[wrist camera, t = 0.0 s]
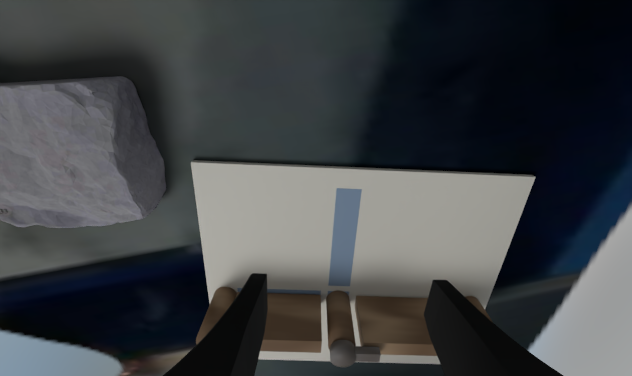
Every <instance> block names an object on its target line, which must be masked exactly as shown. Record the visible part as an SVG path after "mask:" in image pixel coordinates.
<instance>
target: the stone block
mask: <svg viewBox="0 0 632 376" xmlns="http://www.w3.org/2000/svg"><path fill="white" fill-rule="evenodd" d="M165 191H166V182H165V166H164V160H163V158H162V156H161V154H160V152H159V150H158V148H157V146H156V141H155V140H154V139H153V137H152V136H151V134H150V131H149V128H148V125H147V118H146V114H145V111H144V109H143V106H142V104H141V101H140V99H139V97H138V94H137V91H136V88H135V86H134V84H133V82H132V81H131V80H129V79H128V78H126V77H123V76H114V77H96V78H82V79H62V80H45V81H28V82H13V83H0V220H2V221H4V222H7V223H10V224H13V225H15V226H17V227H27V226H31V225H42V226H45V227H51V228H74V227H85V226H87V225H90V226H104V225H111V224H114V223H117V222H120V223H123V222H127V221H133V220H138V219H142V218H144V217H145V216H147V215H148V214H150V213H151V212H152V211H153V210H154V209H155V208H156V207H157V205H158V203H159V201H160V200H161V198H162V196H163V194H164V192H165Z"/></svg>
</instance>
